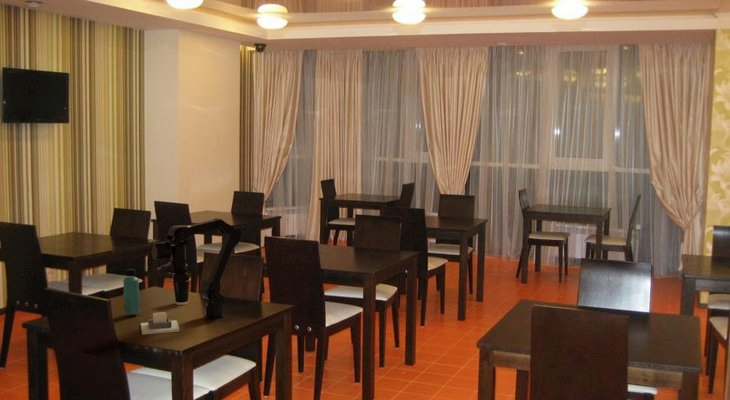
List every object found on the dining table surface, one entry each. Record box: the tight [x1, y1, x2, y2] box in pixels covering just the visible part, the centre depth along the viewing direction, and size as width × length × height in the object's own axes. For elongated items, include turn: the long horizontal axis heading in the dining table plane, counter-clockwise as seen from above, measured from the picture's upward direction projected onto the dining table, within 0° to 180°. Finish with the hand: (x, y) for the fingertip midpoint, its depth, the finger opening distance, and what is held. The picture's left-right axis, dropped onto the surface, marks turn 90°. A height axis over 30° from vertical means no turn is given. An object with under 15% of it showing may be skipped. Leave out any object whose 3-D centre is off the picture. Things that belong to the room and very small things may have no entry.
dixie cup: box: [171, 278, 191, 306], centre depth 341 cm, size 8×8×11 cm
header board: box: [140, 317, 180, 336], centre depth 299 cm, size 14×14×3 cm
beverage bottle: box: [122, 268, 141, 315], centre depth 318 cm, size 6×7×20 cm
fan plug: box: [150, 311, 167, 323], centre depth 298 cm, size 6×4×5 cm, turn 108°
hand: (180, 294), depth 307 cm, fingers closed
